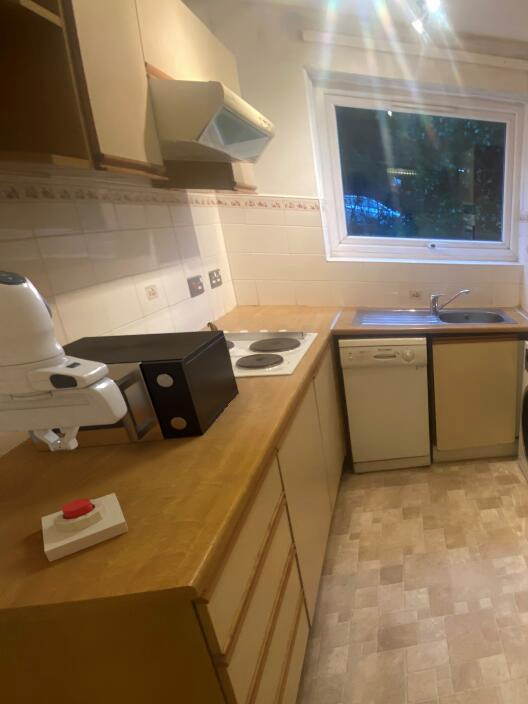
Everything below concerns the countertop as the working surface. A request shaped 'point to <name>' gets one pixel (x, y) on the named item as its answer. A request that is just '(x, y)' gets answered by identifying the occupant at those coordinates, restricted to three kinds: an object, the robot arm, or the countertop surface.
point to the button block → (82, 528)
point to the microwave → (173, 373)
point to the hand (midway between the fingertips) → (65, 448)
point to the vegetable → (214, 328)
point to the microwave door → (136, 422)
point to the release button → (77, 508)
